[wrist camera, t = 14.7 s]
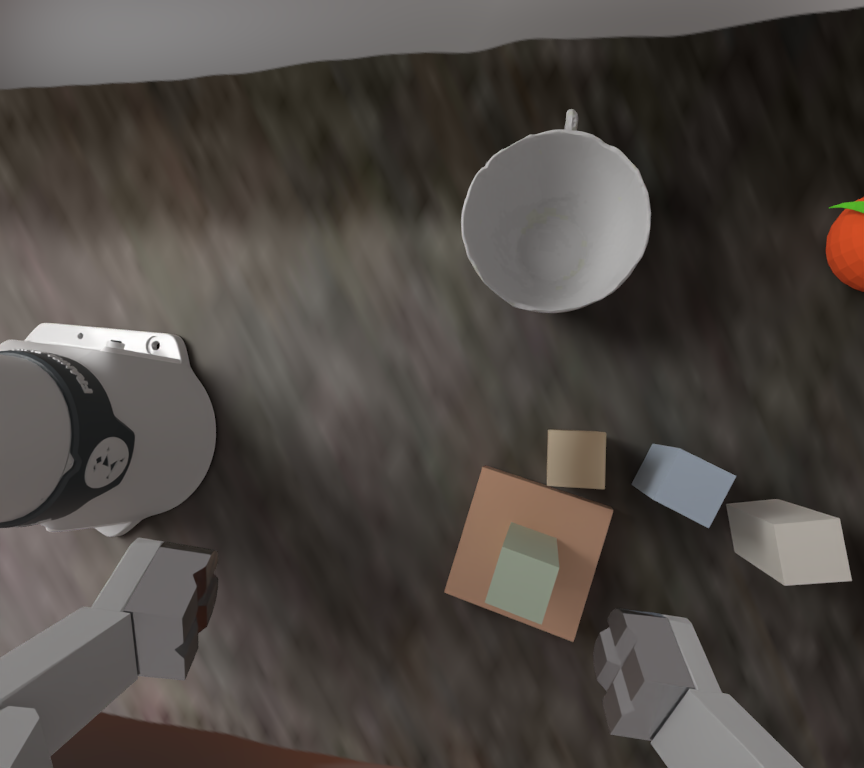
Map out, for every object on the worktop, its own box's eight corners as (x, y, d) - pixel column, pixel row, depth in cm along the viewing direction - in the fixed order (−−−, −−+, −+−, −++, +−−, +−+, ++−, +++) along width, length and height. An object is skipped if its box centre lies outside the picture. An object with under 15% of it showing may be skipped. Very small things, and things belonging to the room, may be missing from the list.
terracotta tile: (448, 585, 46) (444, 592, 44) (485, 465, 46) (482, 467, 44) (572, 632, 44) (573, 642, 42) (610, 506, 44) (613, 510, 42)
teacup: (618, 343, 45) (634, 325, 37) (461, 318, 47) (445, 297, 39) (651, 155, 45) (674, 98, 37) (495, 141, 48) (485, 85, 40)
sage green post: (497, 566, 43) (484, 602, 34) (511, 521, 43) (502, 546, 34) (542, 583, 42) (541, 624, 34) (556, 538, 42) (559, 567, 34)
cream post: (734, 552, 42) (784, 585, 33) (725, 503, 42) (773, 524, 33) (786, 547, 41) (851, 581, 32) (777, 498, 42) (839, 518, 33)
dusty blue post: (631, 484, 44) (652, 499, 35) (652, 443, 43) (679, 448, 35) (675, 507, 43) (708, 528, 34) (697, 465, 43) (736, 476, 34)
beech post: (546, 473, 45) (546, 485, 36) (548, 429, 45) (548, 430, 36) (592, 476, 44) (604, 489, 35) (594, 431, 44) (606, 432, 36)
